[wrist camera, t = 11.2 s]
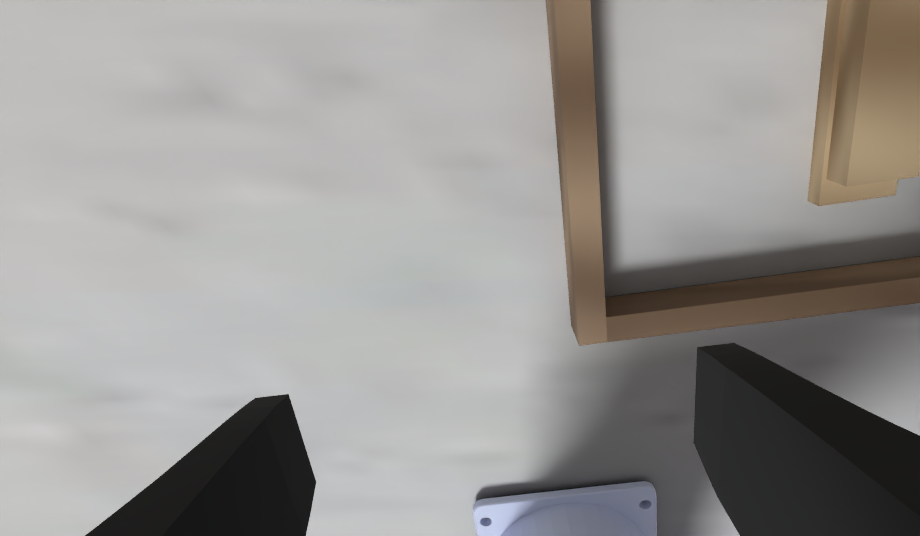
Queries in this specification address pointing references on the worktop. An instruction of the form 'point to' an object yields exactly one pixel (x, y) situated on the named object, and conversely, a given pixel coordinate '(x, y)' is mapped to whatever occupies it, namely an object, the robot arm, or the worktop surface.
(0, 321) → the worktop surface
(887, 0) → the offcut stack
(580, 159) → the brown flat square frame
